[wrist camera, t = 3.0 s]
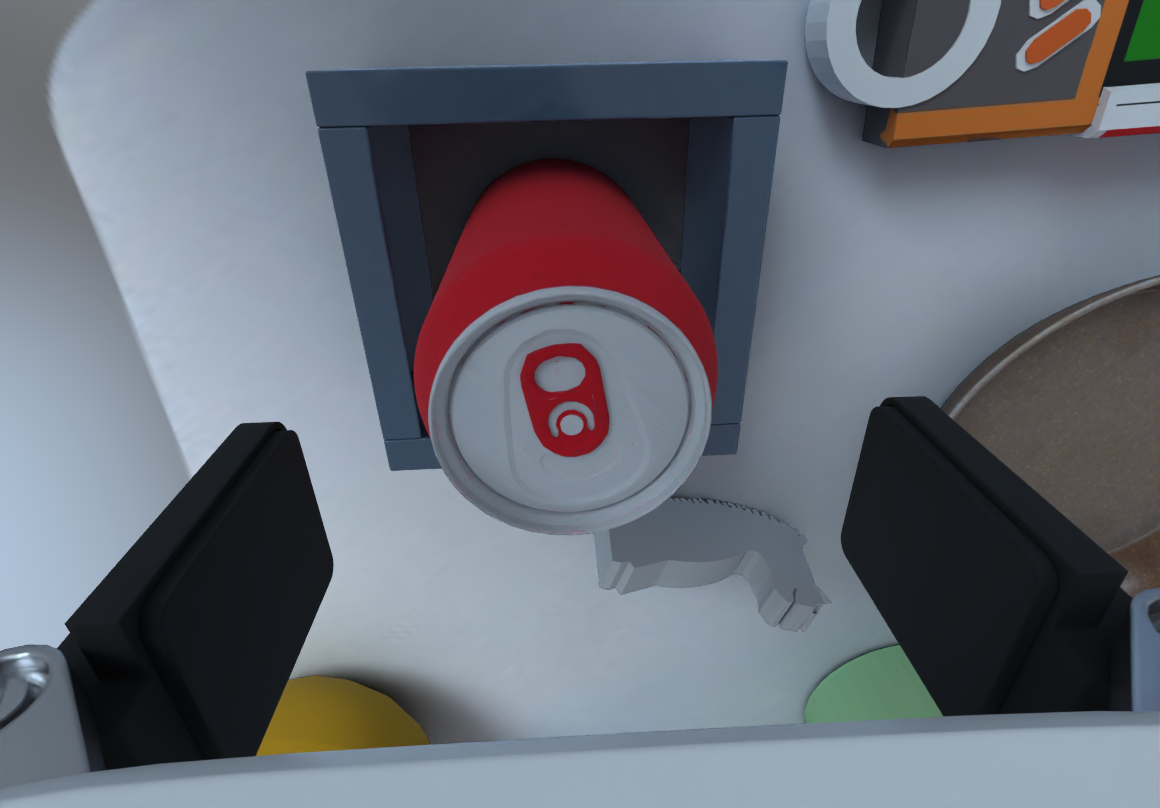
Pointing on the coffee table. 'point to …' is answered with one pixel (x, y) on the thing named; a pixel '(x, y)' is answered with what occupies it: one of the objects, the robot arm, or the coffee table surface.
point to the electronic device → (993, 68)
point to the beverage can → (564, 357)
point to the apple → (337, 719)
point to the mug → (871, 691)
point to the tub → (539, 94)
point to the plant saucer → (1082, 419)
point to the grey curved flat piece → (713, 556)
